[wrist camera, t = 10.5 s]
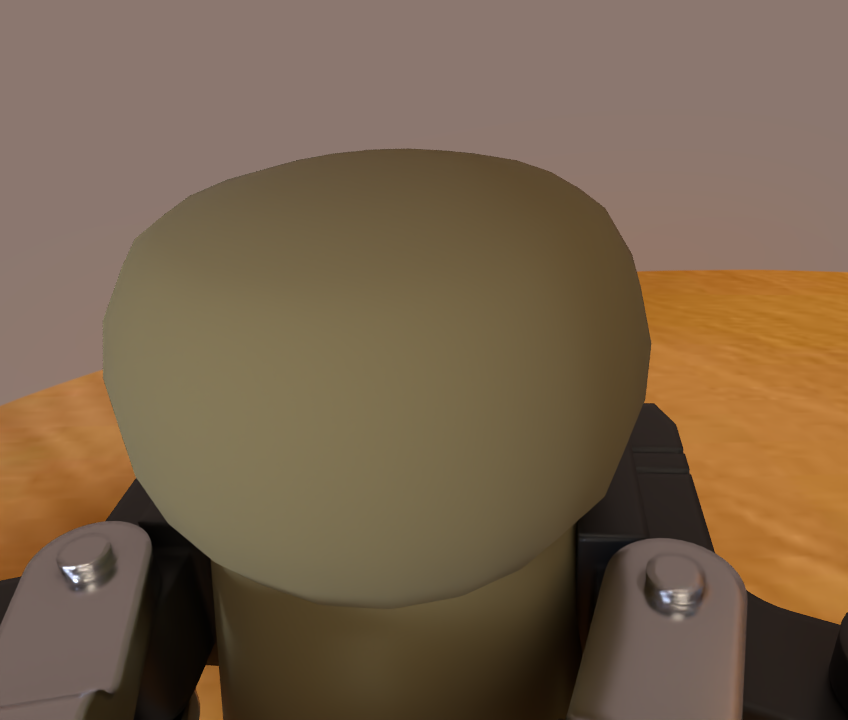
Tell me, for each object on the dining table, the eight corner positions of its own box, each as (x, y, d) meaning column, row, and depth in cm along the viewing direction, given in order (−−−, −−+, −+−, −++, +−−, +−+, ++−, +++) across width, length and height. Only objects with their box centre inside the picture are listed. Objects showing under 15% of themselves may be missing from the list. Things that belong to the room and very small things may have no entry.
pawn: (584, 687, 15) (618, 92, 10) (684, 1105, 9) (886, 283, 4) (272, 706, 15) (135, 125, 10) (197, 1131, 10) (-203, 351, 4)
